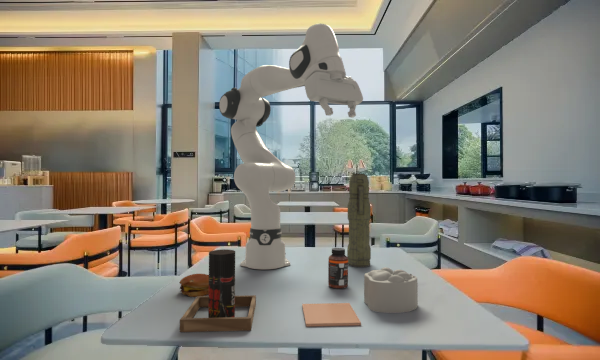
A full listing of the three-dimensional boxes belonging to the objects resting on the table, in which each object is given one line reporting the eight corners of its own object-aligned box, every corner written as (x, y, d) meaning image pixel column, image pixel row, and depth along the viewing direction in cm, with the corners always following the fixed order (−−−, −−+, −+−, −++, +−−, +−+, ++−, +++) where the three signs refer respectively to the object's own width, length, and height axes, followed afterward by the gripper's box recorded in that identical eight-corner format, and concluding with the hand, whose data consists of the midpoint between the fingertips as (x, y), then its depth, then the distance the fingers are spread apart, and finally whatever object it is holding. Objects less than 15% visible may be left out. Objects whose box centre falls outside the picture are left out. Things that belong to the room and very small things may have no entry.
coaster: (302, 306, 83) (302, 303, 83) (349, 305, 84) (349, 303, 84) (306, 326, 71) (306, 323, 71) (361, 325, 72) (361, 322, 72)
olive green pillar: (351, 268, 121) (351, 173, 122) (344, 261, 133) (344, 174, 134) (375, 268, 122) (375, 173, 123) (365, 260, 134) (365, 174, 135)
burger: (216, 286, 100) (216, 270, 100) (214, 296, 91) (214, 279, 91) (181, 288, 98) (181, 272, 98) (176, 298, 89) (176, 281, 89)
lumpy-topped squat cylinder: (361, 298, 89) (361, 266, 90) (408, 297, 90) (408, 265, 90) (372, 313, 79) (372, 277, 79) (425, 312, 80) (425, 276, 80)
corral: (197, 306, 83) (197, 296, 83) (255, 305, 84) (255, 295, 84) (179, 332, 68) (179, 319, 68) (250, 330, 69) (251, 318, 69)
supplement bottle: (347, 290, 96) (347, 251, 97) (327, 288, 98) (327, 250, 98) (348, 284, 102) (348, 247, 102) (329, 282, 103) (329, 246, 104)
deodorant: (210, 312, 79) (211, 249, 79) (236, 312, 79) (236, 249, 79) (205, 323, 73) (206, 254, 73) (233, 322, 73) (233, 254, 74)
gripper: (347, 83, 109) (358, 122, 106) (298, 74, 96) (308, 118, 93) (361, 72, 104) (372, 113, 101) (311, 62, 91) (322, 108, 88)
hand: (341, 115), depth 97 cm, fingers open, 8 cm apart
